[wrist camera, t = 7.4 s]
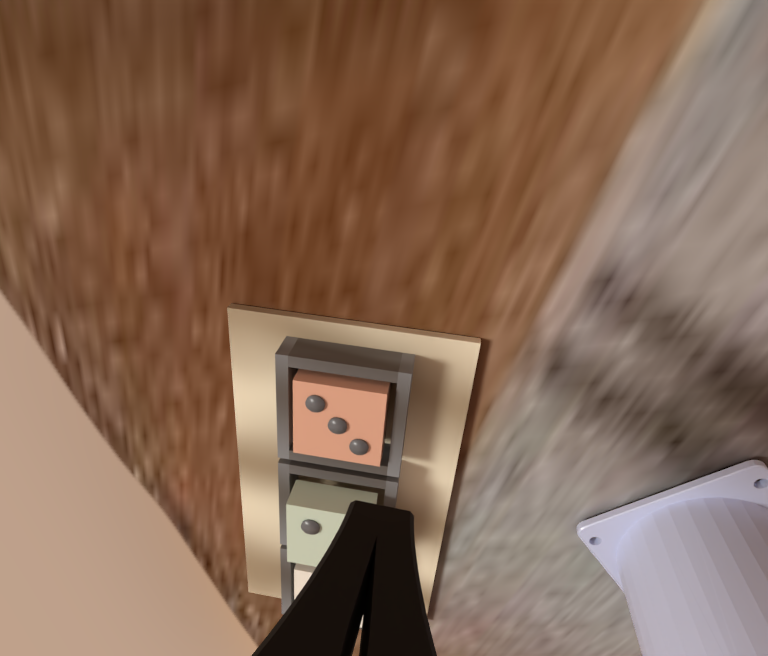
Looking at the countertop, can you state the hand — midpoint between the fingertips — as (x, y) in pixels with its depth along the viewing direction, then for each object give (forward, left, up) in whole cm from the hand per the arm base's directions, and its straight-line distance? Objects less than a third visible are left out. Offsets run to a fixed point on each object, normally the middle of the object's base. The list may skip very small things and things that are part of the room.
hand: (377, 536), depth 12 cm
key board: (-5, +8, -10) cm, 14 cm away
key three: (-1, +4, -9) cm, 10 cm away
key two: (-5, +8, -8) cm, 12 cm away
